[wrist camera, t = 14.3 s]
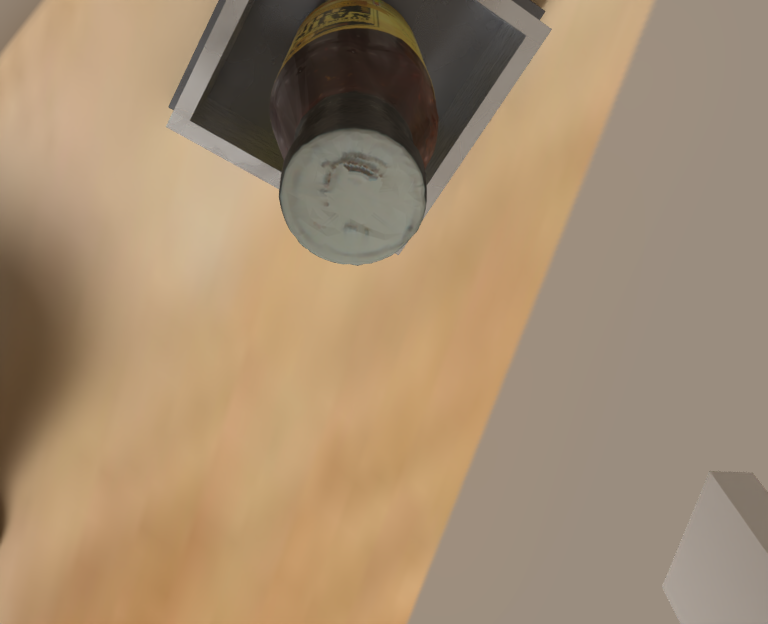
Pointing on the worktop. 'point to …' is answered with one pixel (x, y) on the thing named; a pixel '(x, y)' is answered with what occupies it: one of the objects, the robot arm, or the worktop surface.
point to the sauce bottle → (354, 132)
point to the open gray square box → (275, 36)
